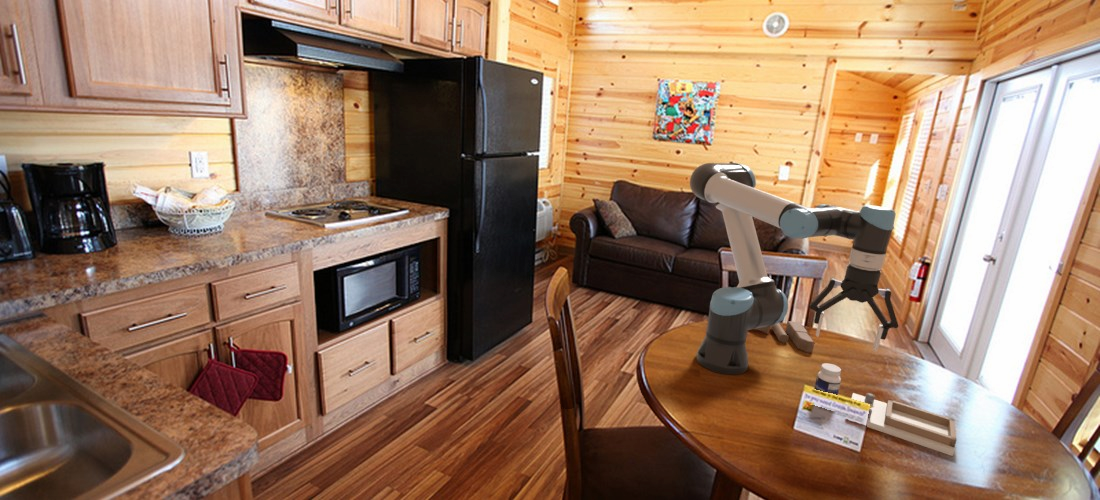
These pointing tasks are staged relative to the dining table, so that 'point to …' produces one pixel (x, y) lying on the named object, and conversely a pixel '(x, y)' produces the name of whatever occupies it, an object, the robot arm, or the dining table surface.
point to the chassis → (911, 424)
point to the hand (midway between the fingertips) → (845, 342)
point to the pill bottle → (828, 379)
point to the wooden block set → (792, 335)
